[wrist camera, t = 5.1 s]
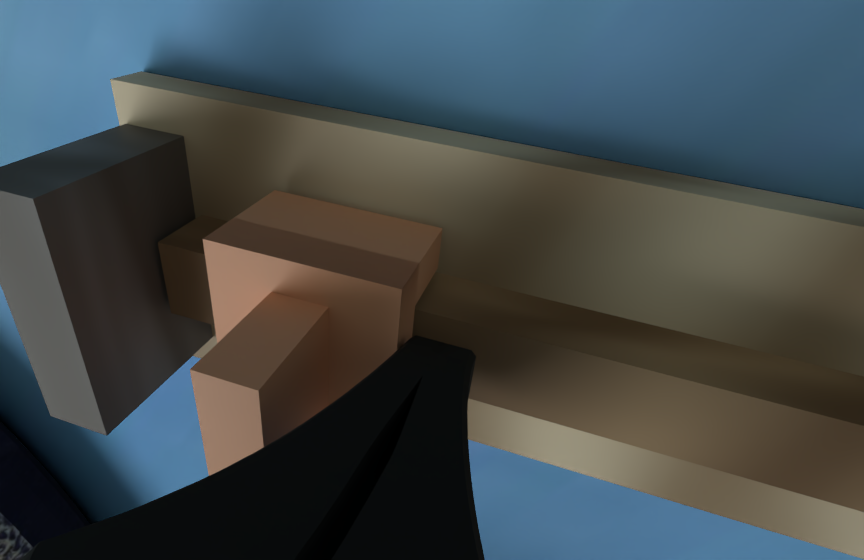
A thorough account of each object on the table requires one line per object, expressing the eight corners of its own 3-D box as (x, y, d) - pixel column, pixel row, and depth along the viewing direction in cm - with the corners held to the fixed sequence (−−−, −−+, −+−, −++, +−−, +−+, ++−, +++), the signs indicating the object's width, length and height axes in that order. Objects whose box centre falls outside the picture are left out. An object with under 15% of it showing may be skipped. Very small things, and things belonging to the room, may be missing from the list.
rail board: (1111, 256, 10) (1468, 482, 6) (872, 530, 14) (975, 772, 10) (141, 71, 14) (-69, 123, 10) (186, 329, 18) (54, 442, 14)
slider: (442, 228, 12) (343, 376, 8) (423, 387, 14) (340, 563, 10) (274, 189, 13) (103, 306, 8) (283, 346, 15) (154, 495, 11)
